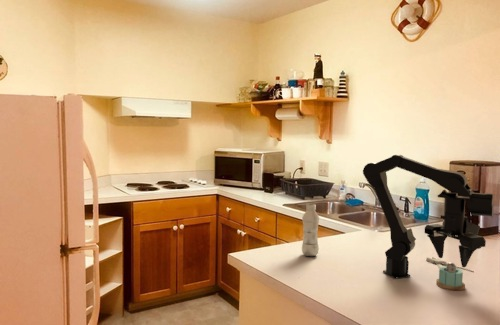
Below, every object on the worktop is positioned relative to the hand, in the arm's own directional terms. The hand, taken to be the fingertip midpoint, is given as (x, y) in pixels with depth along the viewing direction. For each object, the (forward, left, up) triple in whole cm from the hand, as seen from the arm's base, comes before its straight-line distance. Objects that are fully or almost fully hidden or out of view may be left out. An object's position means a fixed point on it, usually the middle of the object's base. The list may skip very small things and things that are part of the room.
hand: (451, 262), depth 122 cm
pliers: (+13, +16, -8) cm, 22 cm away
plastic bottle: (-29, +40, -8) cm, 50 cm away
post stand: (0, 0, -8) cm, 8 cm away
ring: (0, 0, -6) cm, 7 cm away
